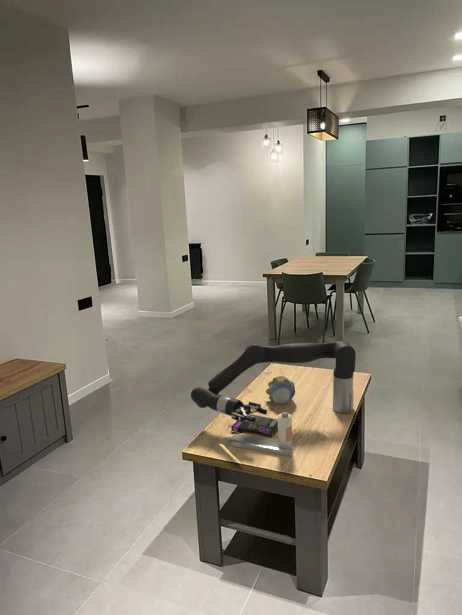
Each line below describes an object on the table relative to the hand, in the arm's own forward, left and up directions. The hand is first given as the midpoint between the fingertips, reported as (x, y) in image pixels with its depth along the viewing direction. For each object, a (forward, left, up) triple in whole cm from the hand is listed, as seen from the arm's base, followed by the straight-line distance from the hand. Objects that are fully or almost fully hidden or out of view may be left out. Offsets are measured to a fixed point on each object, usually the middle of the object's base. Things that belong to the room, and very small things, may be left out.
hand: (260, 416), depth 191 cm
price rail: (-1, +8, -11) cm, 14 cm away
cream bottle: (-11, +3, -11) cm, 16 cm away
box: (+6, -11, -13) cm, 18 cm away
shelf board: (-1, +3, -12) cm, 13 cm away
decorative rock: (+4, -43, -13) cm, 45 cm away
